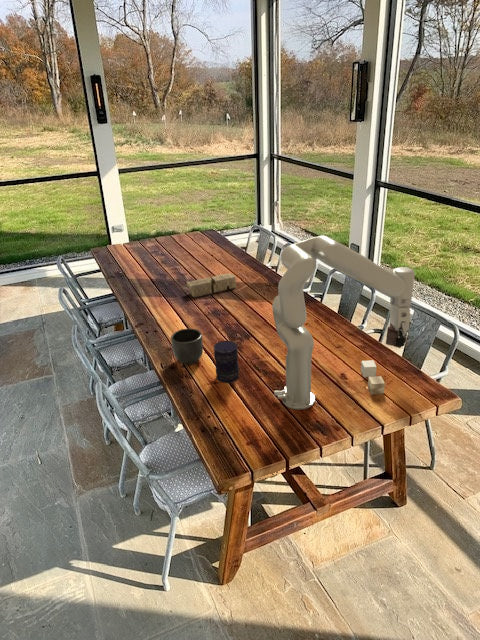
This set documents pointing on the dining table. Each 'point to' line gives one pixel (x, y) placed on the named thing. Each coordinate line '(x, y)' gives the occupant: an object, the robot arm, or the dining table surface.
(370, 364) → the grey block
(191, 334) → the planter
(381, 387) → the birch block
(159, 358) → the dining table surface
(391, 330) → the box
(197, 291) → the tan double block
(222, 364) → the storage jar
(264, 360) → the dining table surface
